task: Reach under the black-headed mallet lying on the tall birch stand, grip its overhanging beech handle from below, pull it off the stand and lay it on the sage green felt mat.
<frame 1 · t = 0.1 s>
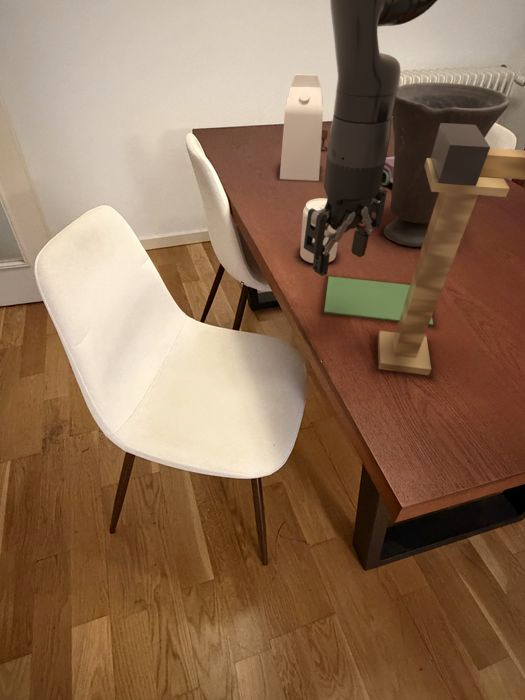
hand: (339, 263, 63), 14 cm above the table, tool pointing down, fingers open, 8 cm apart
mallet: (451, 171, 47), point 30 cm above the table, touching stand
apple: (468, 192, 117), on the table
beverage can: (317, 257, 91), on the table
milk: (299, 173, 127), on the table
felt mat: (376, 300, 79), on the table
stand: (402, 355, 68), on the table
vase: (408, 236, 98), on the table
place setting: (352, 154, 139), on the table
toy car: (419, 193, 116), on the table
beverage can 2: (360, 188, 119), on the table
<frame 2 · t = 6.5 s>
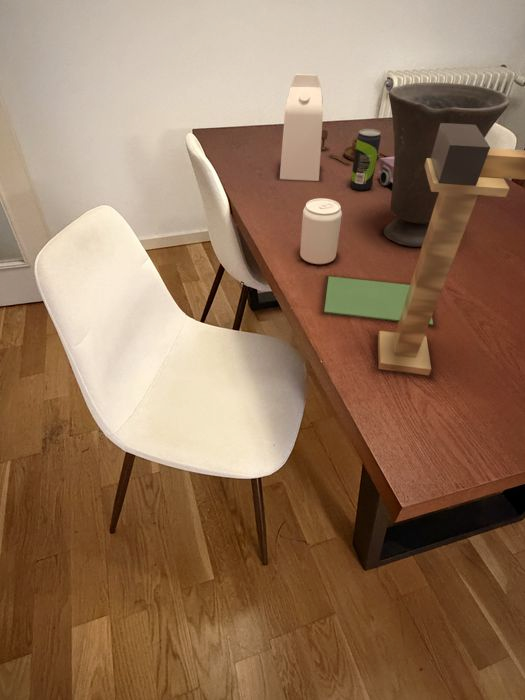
nothing on the table moved.
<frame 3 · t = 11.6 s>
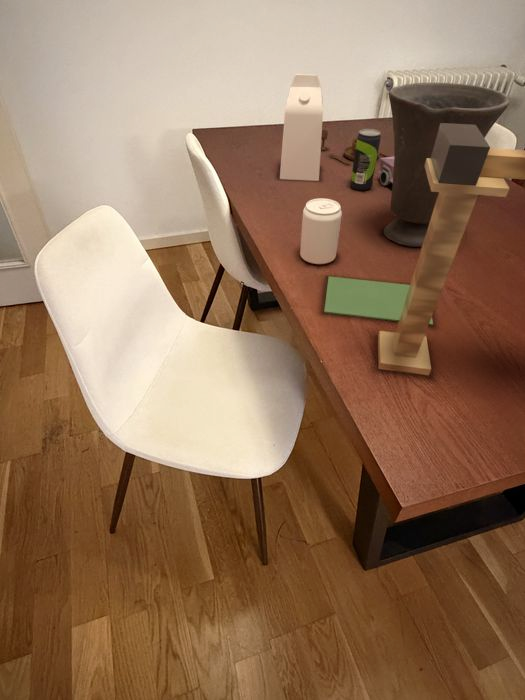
mallet: (451, 171, 47), point 31 cm above the table, touching gripper, stand
everything else where it was.
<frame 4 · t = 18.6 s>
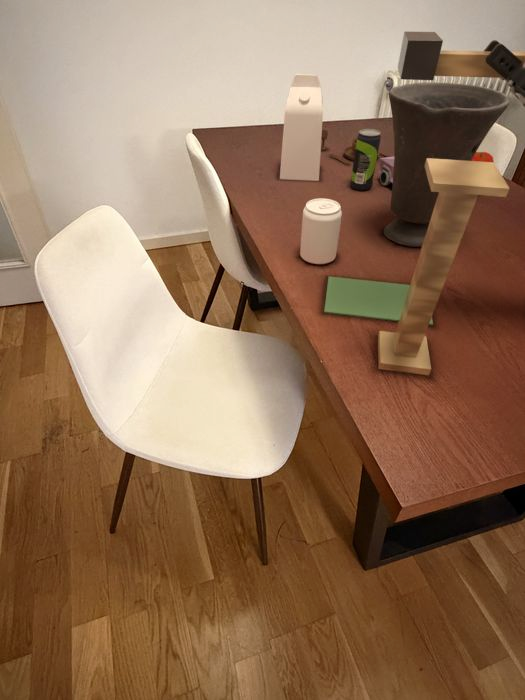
hand: (489, 50, 50), 40 cm above the table, tool pointing upward, fingers closed on mallet, 2 cm apart
mallet: (414, 73, 53), point 37 cm above the table, touching gripper
everything else where it was.
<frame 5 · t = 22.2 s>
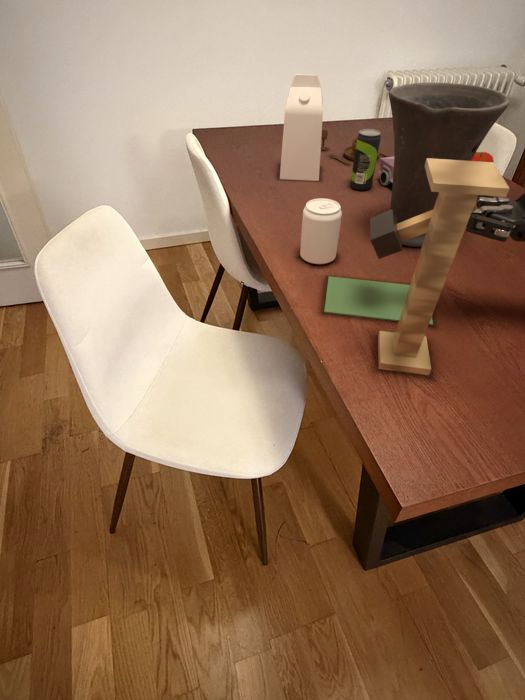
hand: (436, 210, 65), 19 cm above the table, tool horizontal, fingers closed on mallet, 2 cm apart
mallet: (389, 243, 70), point 13 cm above the table, tilted 31°, touching gripper
everything else where it was.
when the fingers open (8 cm above the table, at t = 25.4 s): mallet drops 1 cm, resting on felt mat.
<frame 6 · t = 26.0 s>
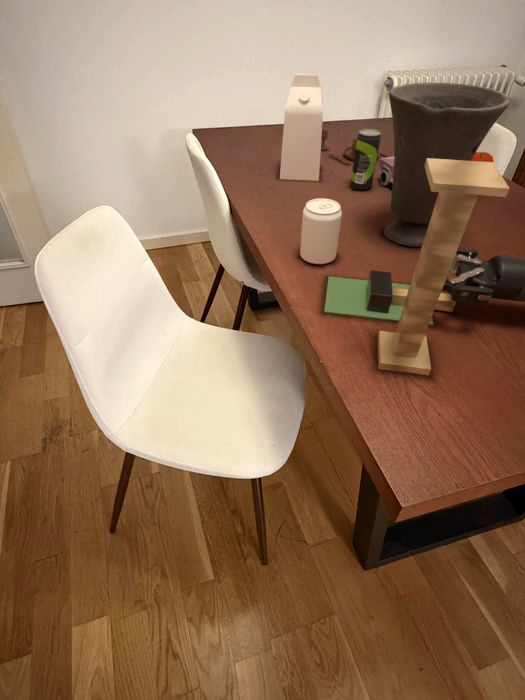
hand: (422, 269, 72), 8 cm above the table, tool horizontal, fingers open, 7 cm apart
mallet: (377, 299, 79), resting on felt mat
everything else where it was.
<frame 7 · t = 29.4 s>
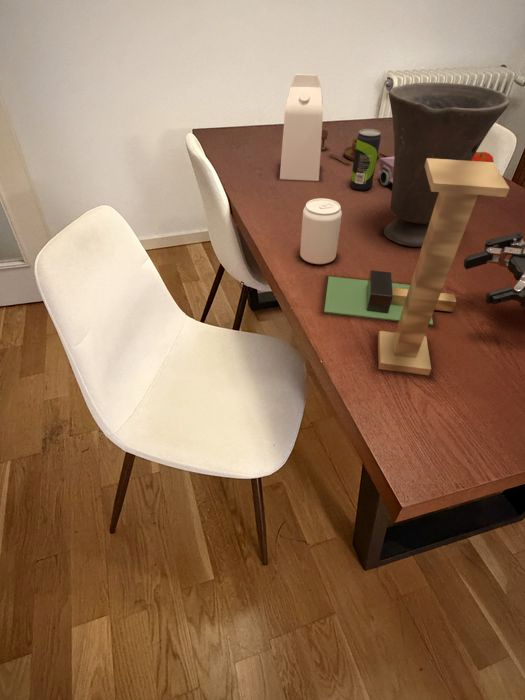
hand: (475, 280, 68), 9 cm above the table, tool tilted 70°, fingers open, 8 cm apart
nothing on the table moved.
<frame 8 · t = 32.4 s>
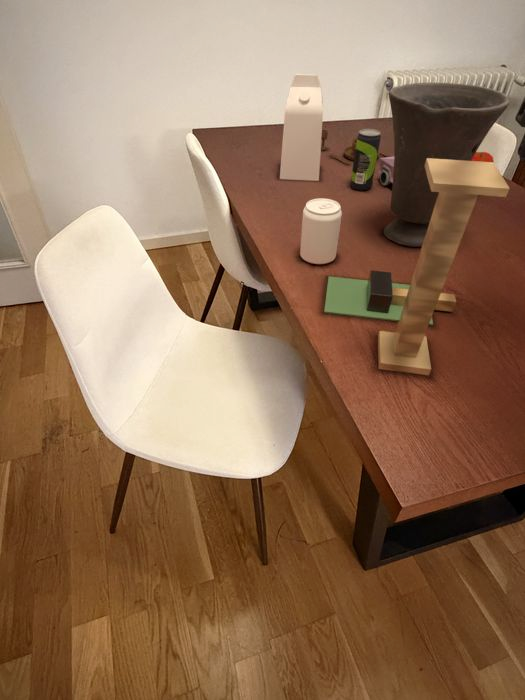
nothing on the table moved.
at the end: mallet 0.4 cm from the felt mat (horizontally); mallet touching felt mat; mallet on the table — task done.
